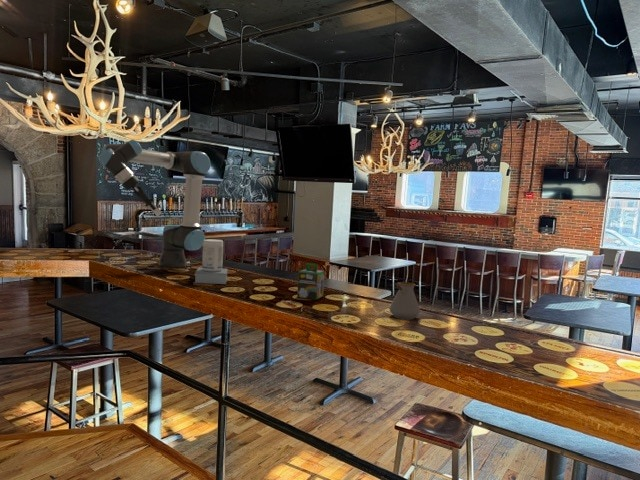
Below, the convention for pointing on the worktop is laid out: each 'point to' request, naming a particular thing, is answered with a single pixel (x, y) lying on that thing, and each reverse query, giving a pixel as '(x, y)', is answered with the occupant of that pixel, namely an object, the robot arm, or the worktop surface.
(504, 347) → the worktop surface
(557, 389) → the worktop surface
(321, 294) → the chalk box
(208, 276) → the slate-blue box
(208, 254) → the supplement tub
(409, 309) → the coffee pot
